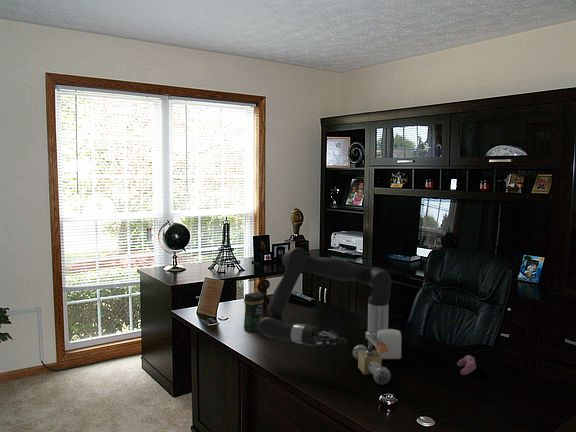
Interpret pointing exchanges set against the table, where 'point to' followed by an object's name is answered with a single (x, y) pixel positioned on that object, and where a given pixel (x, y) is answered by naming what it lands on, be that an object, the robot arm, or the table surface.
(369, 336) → the lever
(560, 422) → the table surface
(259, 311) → the coffee jar
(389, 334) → the photo printer
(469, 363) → the pink curved piece
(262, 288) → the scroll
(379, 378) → the valve
